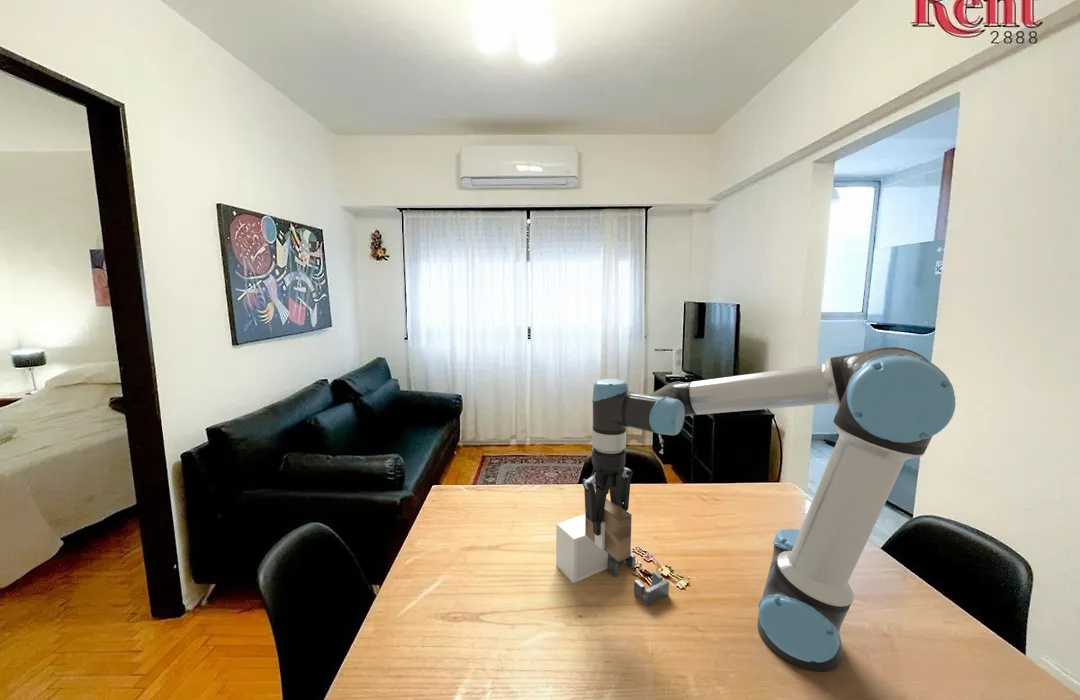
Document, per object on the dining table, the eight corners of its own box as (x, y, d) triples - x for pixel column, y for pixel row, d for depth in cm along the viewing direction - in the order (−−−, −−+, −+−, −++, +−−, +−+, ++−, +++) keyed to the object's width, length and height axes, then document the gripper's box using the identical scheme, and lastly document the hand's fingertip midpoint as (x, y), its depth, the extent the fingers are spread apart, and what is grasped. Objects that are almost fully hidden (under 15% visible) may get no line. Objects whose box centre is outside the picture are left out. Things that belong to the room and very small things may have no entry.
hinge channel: (668, 594, 100) (670, 564, 99) (647, 606, 97) (648, 574, 96) (626, 560, 113) (627, 533, 112) (606, 569, 110) (606, 541, 108)
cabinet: (622, 562, 112) (623, 521, 111) (573, 583, 104) (574, 539, 102) (602, 546, 119) (603, 507, 117) (556, 565, 111) (556, 523, 109)
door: (630, 556, 93) (631, 514, 92) (618, 561, 91) (619, 519, 90) (596, 530, 103) (597, 492, 102) (585, 534, 101) (585, 496, 100)
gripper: (624, 436, 101) (622, 525, 105) (569, 449, 93) (568, 546, 96) (647, 445, 95) (644, 540, 98) (589, 461, 86) (588, 564, 90)
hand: (606, 543), depth 97 cm, fingers closed on door, 3 cm apart
